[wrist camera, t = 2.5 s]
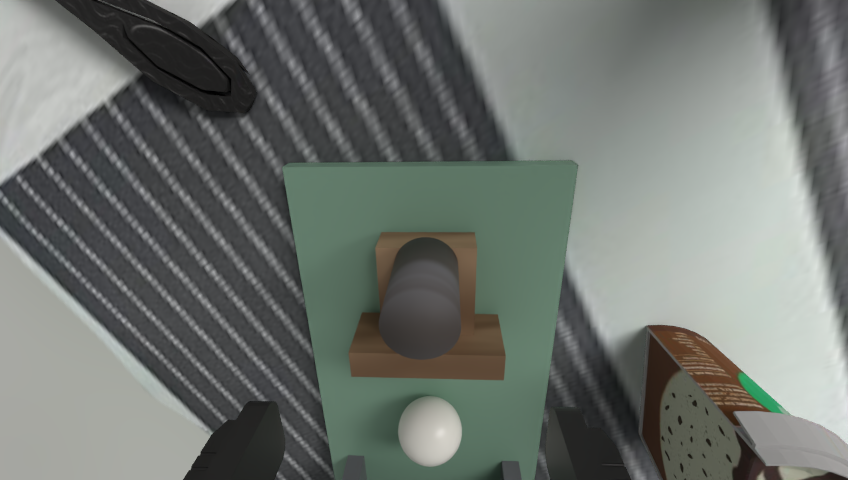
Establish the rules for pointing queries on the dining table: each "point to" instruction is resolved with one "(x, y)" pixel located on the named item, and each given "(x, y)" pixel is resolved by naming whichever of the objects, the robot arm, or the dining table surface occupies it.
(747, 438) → the food container
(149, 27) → the hairbrush
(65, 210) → the dining table surface
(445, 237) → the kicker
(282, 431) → the robot arm
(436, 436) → the ball
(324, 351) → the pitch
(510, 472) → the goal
